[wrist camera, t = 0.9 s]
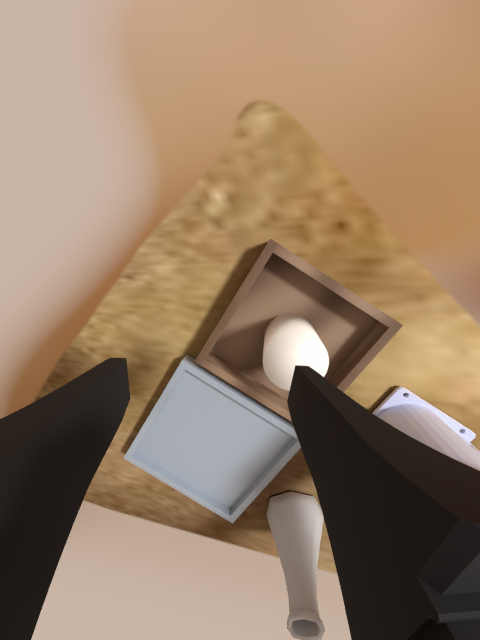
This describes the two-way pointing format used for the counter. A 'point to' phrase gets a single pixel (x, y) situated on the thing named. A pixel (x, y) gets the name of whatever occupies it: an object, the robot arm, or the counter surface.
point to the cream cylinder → (292, 349)
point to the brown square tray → (302, 299)
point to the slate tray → (213, 441)
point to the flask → (299, 558)
